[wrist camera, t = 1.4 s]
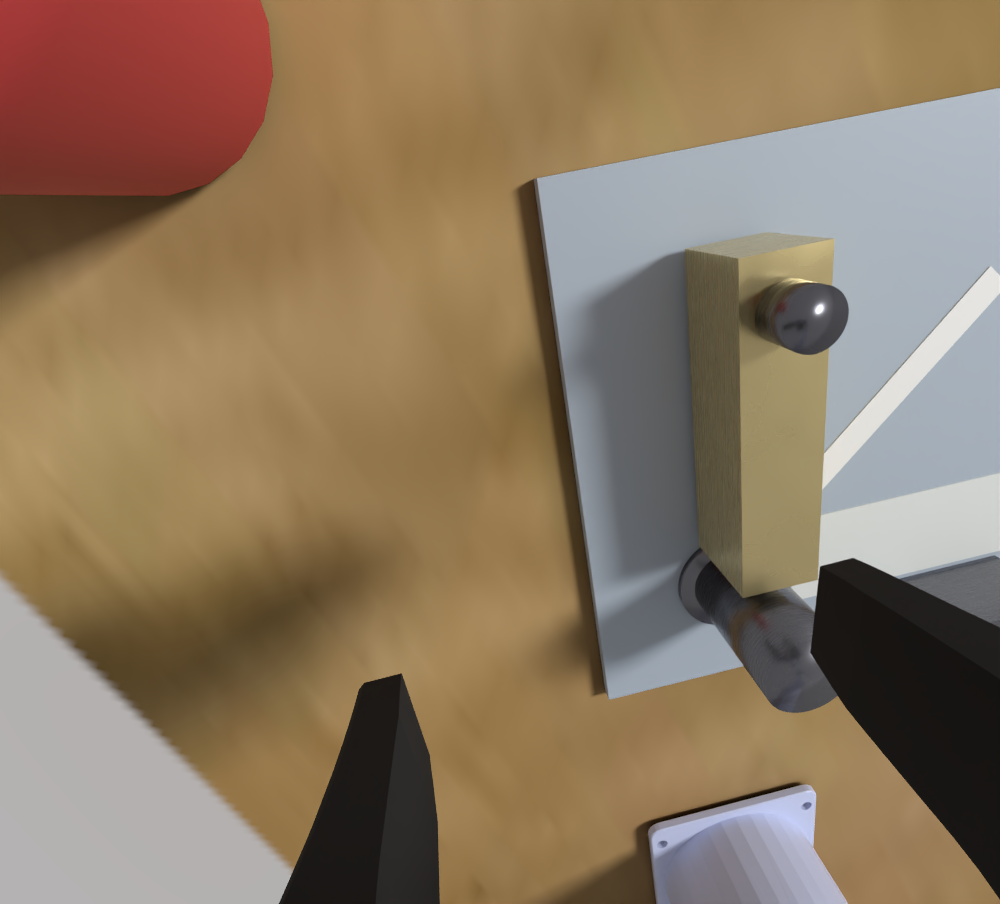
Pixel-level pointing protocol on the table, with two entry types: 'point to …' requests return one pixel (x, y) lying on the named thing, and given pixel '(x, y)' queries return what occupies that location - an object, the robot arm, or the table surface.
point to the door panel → (851, 367)
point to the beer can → (128, 93)
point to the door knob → (760, 634)
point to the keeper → (966, 586)
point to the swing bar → (761, 402)
